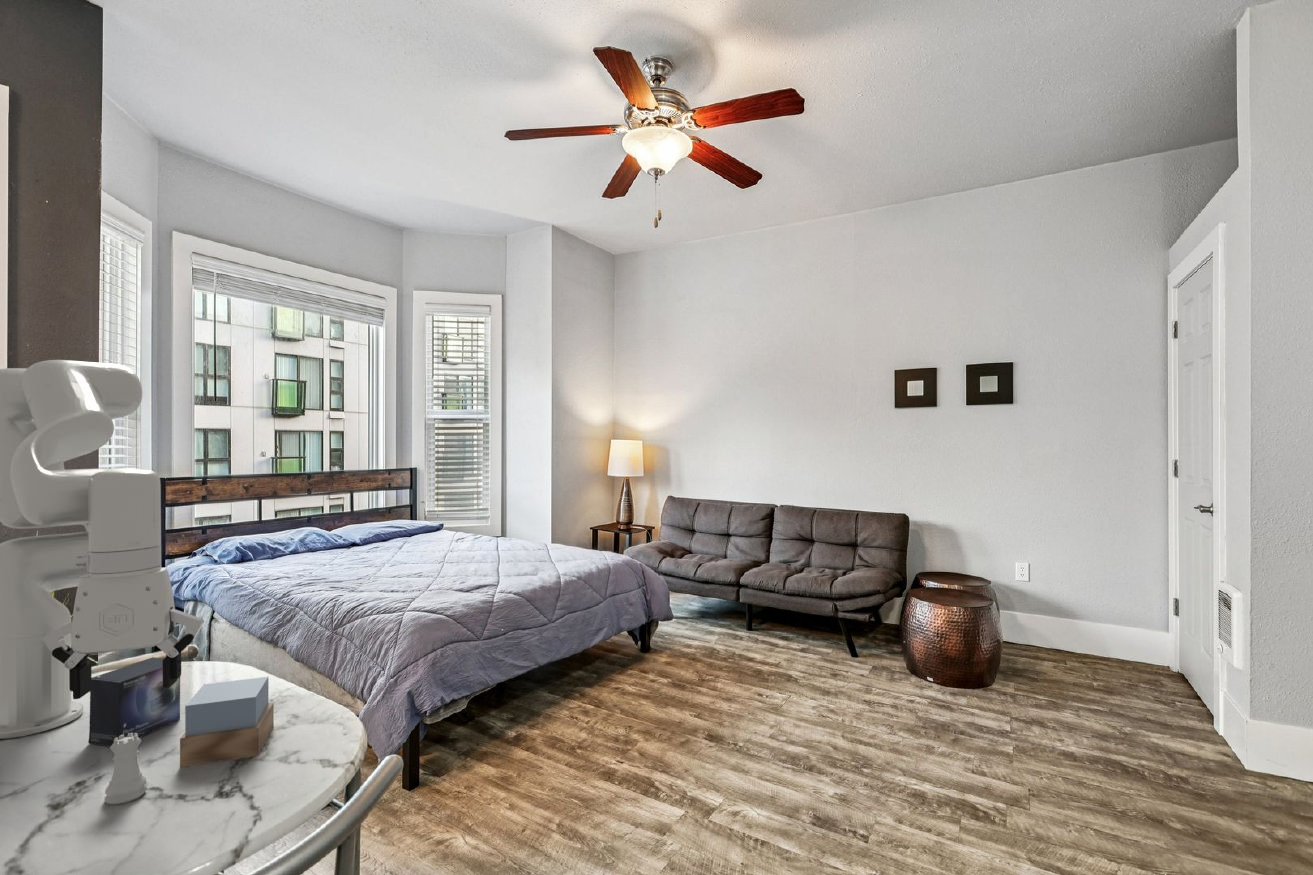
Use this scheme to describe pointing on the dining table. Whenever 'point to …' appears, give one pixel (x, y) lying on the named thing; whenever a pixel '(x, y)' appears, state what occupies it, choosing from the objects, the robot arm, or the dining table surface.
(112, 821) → the dining table surface
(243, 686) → the slate-blue block
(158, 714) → the small box
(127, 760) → the rook chess piece
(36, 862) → the dining table surface
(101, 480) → the robot arm
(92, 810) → the dining table surface
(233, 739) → the walnut block
